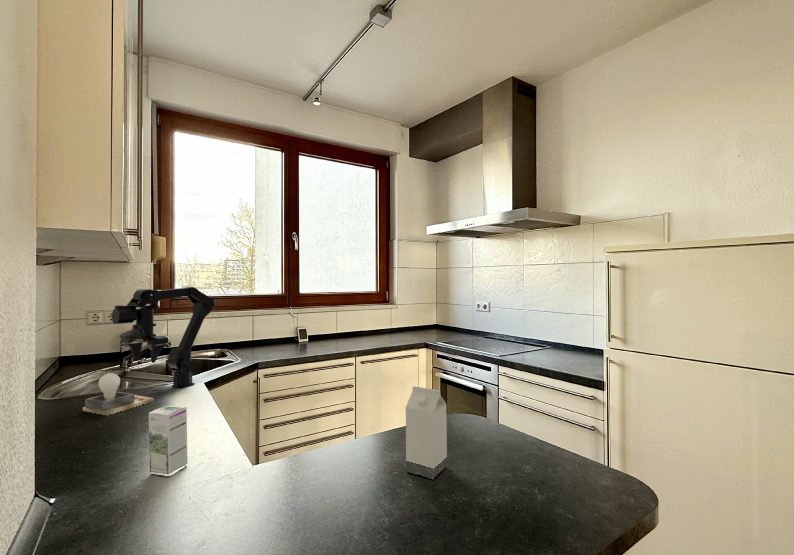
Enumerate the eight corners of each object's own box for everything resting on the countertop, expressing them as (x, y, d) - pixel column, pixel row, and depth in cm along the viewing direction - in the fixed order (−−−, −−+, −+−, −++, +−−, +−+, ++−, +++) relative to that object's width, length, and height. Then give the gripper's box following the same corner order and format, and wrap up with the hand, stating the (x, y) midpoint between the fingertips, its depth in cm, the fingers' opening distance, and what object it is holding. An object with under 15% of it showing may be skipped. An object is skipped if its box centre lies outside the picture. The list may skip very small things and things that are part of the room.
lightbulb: (109, 402, 138) (108, 371, 138) (125, 402, 138) (124, 371, 138) (94, 408, 132) (93, 375, 132) (111, 408, 132) (110, 375, 132)
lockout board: (130, 397, 148) (130, 386, 148) (153, 401, 143) (153, 390, 143) (82, 410, 133) (82, 398, 133) (106, 415, 128) (106, 403, 128)
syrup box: (188, 466, 93) (188, 405, 93) (168, 478, 87) (167, 414, 87) (169, 463, 94) (169, 403, 94) (148, 475, 89) (147, 411, 89)
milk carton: (420, 460, 95) (419, 382, 95) (447, 467, 91) (446, 386, 91) (405, 473, 89) (405, 390, 89) (434, 481, 85) (433, 394, 85)
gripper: (106, 322, 146) (106, 364, 146) (141, 324, 140) (141, 368, 140) (135, 320, 157) (135, 358, 157) (169, 321, 150) (169, 361, 150)
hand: (144, 361), depth 150 cm, fingers open, 9 cm apart
